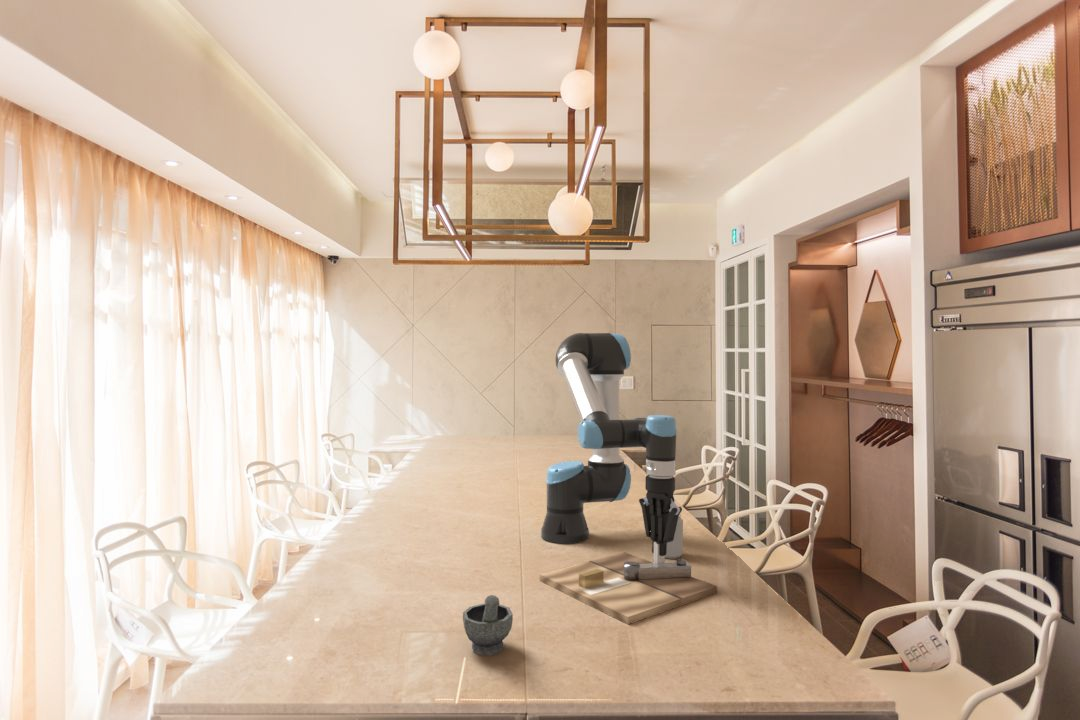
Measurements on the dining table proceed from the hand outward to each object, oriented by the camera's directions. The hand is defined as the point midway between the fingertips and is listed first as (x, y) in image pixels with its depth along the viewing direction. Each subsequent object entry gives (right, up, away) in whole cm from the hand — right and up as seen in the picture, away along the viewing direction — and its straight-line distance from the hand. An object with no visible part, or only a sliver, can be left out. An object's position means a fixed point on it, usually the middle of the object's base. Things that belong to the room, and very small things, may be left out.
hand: (659, 566), depth 159 cm
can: (+7, -3, +19) cm, 20 cm away
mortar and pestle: (-41, -4, -38) cm, 56 cm away
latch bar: (-1, -2, -3) cm, 3 cm away
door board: (-9, -3, -5) cm, 11 cm away
